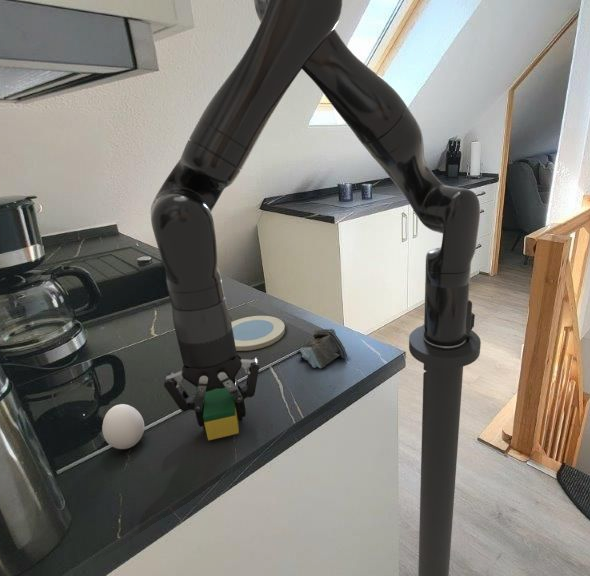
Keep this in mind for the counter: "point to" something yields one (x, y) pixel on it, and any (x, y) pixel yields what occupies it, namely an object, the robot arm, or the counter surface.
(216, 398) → the sponge
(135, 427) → the egg
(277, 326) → the plate
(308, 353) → the grey jagged block
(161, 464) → the counter surface
